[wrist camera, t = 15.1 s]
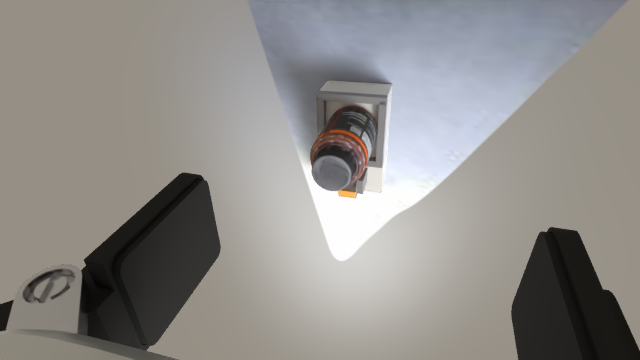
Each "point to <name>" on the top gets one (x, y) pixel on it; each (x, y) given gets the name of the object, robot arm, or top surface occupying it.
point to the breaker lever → (349, 190)
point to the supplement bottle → (343, 148)
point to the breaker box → (377, 105)
